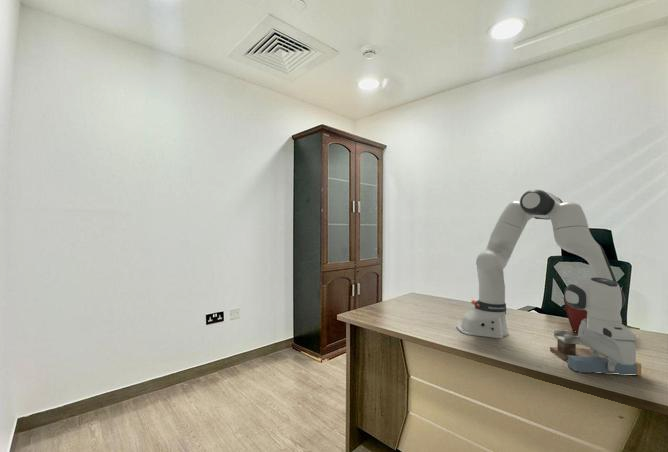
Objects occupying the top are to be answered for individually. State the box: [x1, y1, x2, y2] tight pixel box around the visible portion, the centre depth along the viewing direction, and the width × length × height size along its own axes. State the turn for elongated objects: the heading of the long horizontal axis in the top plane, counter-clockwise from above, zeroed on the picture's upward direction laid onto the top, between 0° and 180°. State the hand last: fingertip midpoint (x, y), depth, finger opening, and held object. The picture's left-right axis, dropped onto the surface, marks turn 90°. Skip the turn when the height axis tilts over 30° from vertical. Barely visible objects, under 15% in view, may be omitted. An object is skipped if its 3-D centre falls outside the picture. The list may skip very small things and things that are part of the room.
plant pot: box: [563, 297, 587, 333], centre depth 141 cm, size 19×19×17 cm
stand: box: [549, 329, 608, 361], centre depth 112 cm, size 22×9×10 cm, turn 83°
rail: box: [567, 355, 642, 376], centre depth 101 cm, size 20×4×4 cm, turn 83°
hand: (603, 366), depth 101 cm, fingers closed on rail, 4 cm apart
